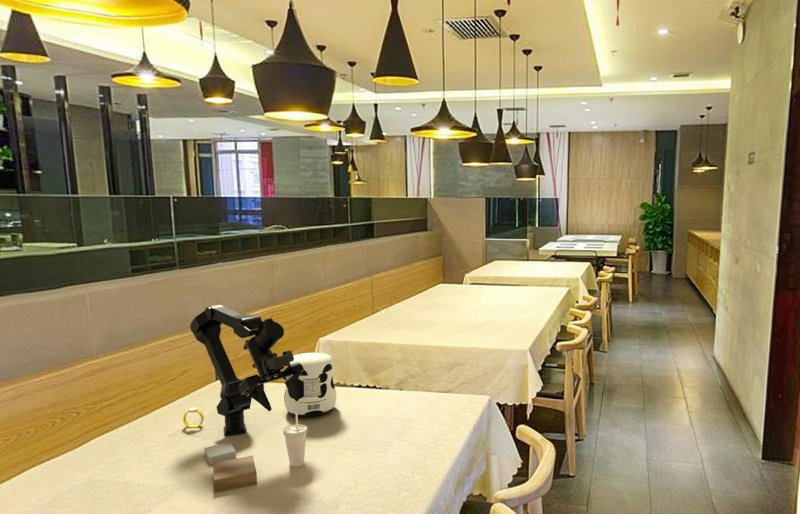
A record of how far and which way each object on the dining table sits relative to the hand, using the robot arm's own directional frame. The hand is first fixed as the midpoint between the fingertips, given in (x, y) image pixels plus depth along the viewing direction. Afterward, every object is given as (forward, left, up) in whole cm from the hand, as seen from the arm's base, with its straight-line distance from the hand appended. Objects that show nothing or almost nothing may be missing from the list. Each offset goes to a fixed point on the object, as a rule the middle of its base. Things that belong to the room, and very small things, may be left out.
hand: (284, 405), depth 151 cm
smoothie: (+7, +2, -14) cm, 16 cm away
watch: (-32, -24, -14) cm, 42 cm away
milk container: (-30, +13, -14) cm, 35 cm away
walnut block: (+9, -14, -14) cm, 22 cm away
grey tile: (-6, -17, -14) cm, 23 cm away
